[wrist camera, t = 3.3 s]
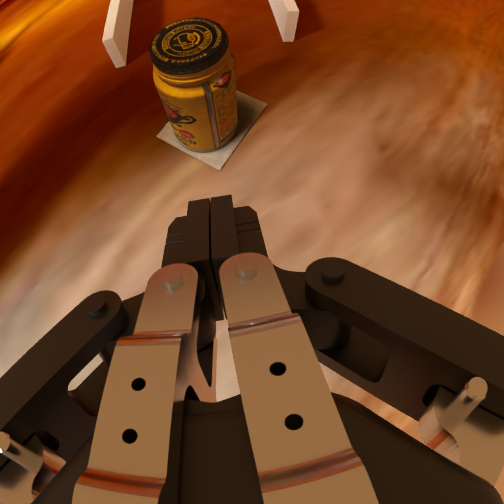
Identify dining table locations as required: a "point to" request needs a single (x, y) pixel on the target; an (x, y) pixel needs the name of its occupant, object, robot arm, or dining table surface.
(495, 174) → the dining table surface
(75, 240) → the dining table surface
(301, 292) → the robot arm
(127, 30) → the caddy
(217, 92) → the condiment
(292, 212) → the dining table surface
